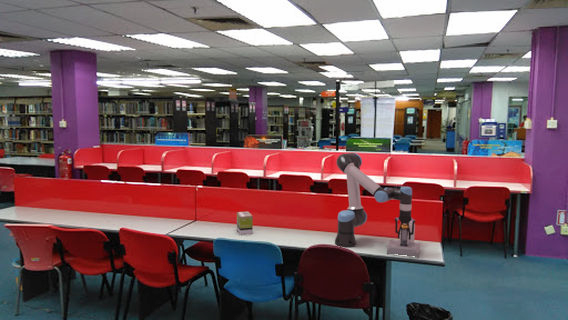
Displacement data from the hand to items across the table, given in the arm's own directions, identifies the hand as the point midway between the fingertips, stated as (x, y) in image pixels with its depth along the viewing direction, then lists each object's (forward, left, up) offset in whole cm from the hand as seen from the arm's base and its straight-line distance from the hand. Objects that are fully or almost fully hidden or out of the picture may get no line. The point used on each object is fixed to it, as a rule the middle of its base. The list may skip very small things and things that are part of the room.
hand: (403, 243), depth 262 cm
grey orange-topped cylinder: (0, 0, -4) cm, 4 cm away
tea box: (-120, 0, -6) cm, 120 cm away
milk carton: (+1, +19, -6) cm, 20 cm away
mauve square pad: (0, 0, -5) cm, 5 cm away
